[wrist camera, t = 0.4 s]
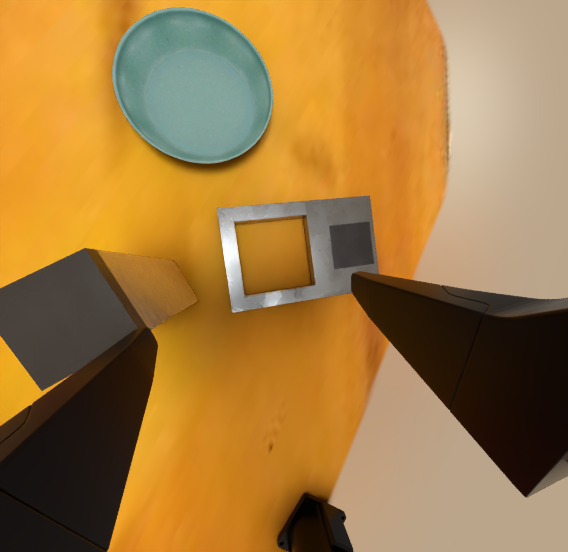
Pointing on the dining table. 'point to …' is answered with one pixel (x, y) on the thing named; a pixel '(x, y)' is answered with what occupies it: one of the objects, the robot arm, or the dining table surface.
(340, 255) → the grey slotted plate
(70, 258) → the grey tall block
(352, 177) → the dining table surface
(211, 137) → the saucer
